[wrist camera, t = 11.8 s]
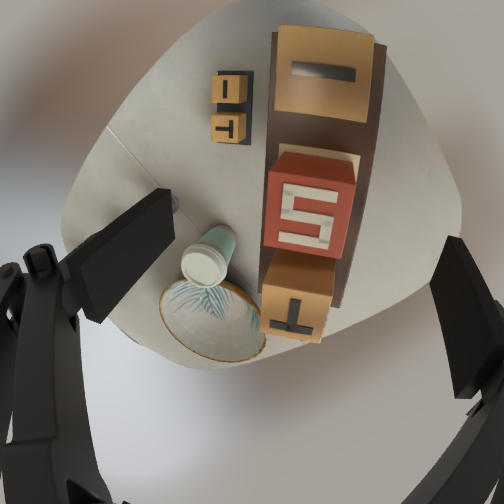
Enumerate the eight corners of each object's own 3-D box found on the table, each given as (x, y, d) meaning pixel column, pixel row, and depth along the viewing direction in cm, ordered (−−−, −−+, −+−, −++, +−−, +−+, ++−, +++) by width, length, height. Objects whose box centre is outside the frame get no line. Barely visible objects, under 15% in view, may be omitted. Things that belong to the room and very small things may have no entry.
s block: (283, 151, 19) (267, 171, 16) (353, 161, 18) (356, 185, 15) (278, 213, 22) (262, 246, 18) (342, 224, 21) (340, 260, 17)
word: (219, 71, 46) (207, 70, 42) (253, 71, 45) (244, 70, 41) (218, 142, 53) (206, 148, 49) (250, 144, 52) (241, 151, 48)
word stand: (312, 61, 42) (252, 19, 12) (357, 67, 40) (401, 35, 10) (303, 176, 52) (241, 331, 22) (343, 182, 51) (336, 350, 21)
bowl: (158, 295, 78) (143, 315, 72) (207, 235, 64) (191, 256, 58) (234, 352, 82) (224, 374, 75) (298, 308, 68) (292, 334, 61)
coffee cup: (198, 220, 63) (171, 250, 53) (238, 216, 60) (215, 248, 50) (210, 256, 67) (186, 290, 57) (247, 254, 64) (228, 291, 54)
